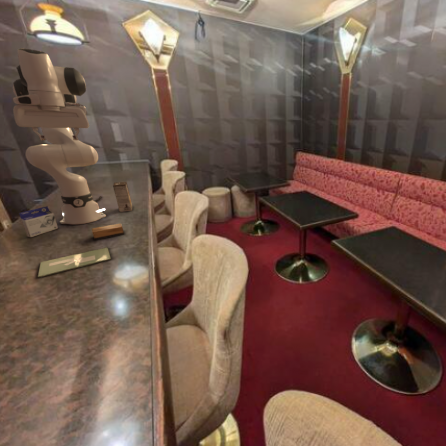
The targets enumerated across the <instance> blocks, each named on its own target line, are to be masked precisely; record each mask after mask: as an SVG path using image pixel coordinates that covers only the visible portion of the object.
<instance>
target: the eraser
mask: <svg viewBox="0 0 446 446" xmlns="http://www.w3.org/2000/svg"><path fill="white" fill-rule="evenodd" d="M91 232H92V235H93V239H94V241H98V240H102V239H108V238H112V237H113V238H114V237H117V236H122V235H125V232H124V228H123V226H122V223H116V224H110V225H103V226H99V227H98V226H97V227H93V228H91Z"/></svg>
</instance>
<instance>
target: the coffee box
mask: <svg viewBox="0 0 446 446" xmlns="http://www.w3.org/2000/svg"><path fill="white" fill-rule="evenodd" d="M112 187H113V192H114V196H115V198H116V199H115V200H116V203H117V207H118V211H119V213H124V212H131V211H133V204H132V200H131V196H130V195H131V194H130V191H129V187H128V182H127V181H119V182H113V185H112Z"/></svg>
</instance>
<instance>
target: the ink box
mask: <svg viewBox="0 0 446 446" xmlns="http://www.w3.org/2000/svg"><path fill="white" fill-rule="evenodd" d="M18 215H19V217H20V221H21V223H22V226H23V229H24V231H25V233H26V234H25V235H26V236H27V238H33V237H34V238H35V237H36V236H39V235H42V234H47V233H49V232H51V231H54V230H57V229H59V227H58V223H57V220H56V217H55V213H54V212H52V211H51V210H50V208H49V206H48V205H46V206H42V207H38V208H33V209H29V210H25V211H21V212H18Z"/></svg>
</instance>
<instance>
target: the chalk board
mask: <svg viewBox="0 0 446 446" xmlns="http://www.w3.org/2000/svg"><path fill="white" fill-rule="evenodd" d="M111 260H112V258H111V255H110V252H109V248H108V247H103V248H98V249H93V250H89V251H84V252H80V253H76V254H72V255H67V256H63V257H58V258H53V259H49V260H43V261H40V263H39V270H38V275H37V278H43V277H44V278H45V277H47V276H51V275H55V274H60V273H63V272H67V271H71V270H75V269H80V268H83V267H87V266H91V265H95V264H99V263H104V262H108V261H111Z"/></svg>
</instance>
